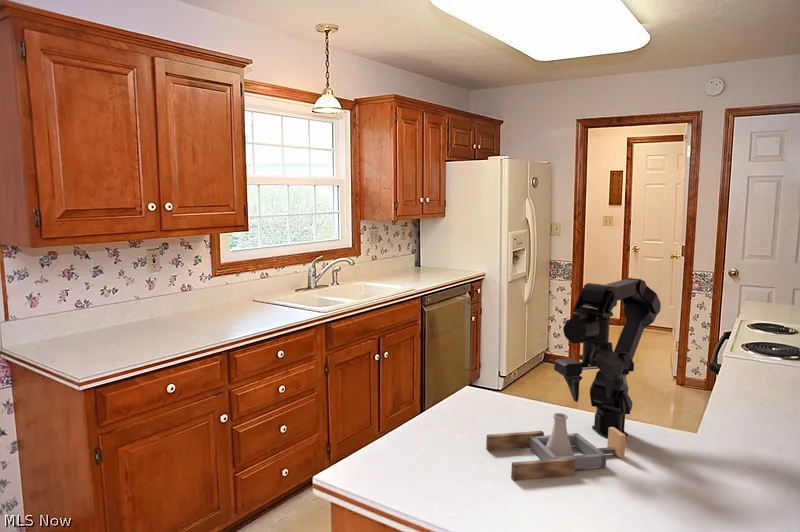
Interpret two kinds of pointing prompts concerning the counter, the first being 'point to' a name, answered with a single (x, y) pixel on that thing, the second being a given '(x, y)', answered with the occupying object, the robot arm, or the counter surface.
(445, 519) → the counter surface
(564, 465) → the lane rails
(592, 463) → the sliding frame
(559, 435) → the flask
